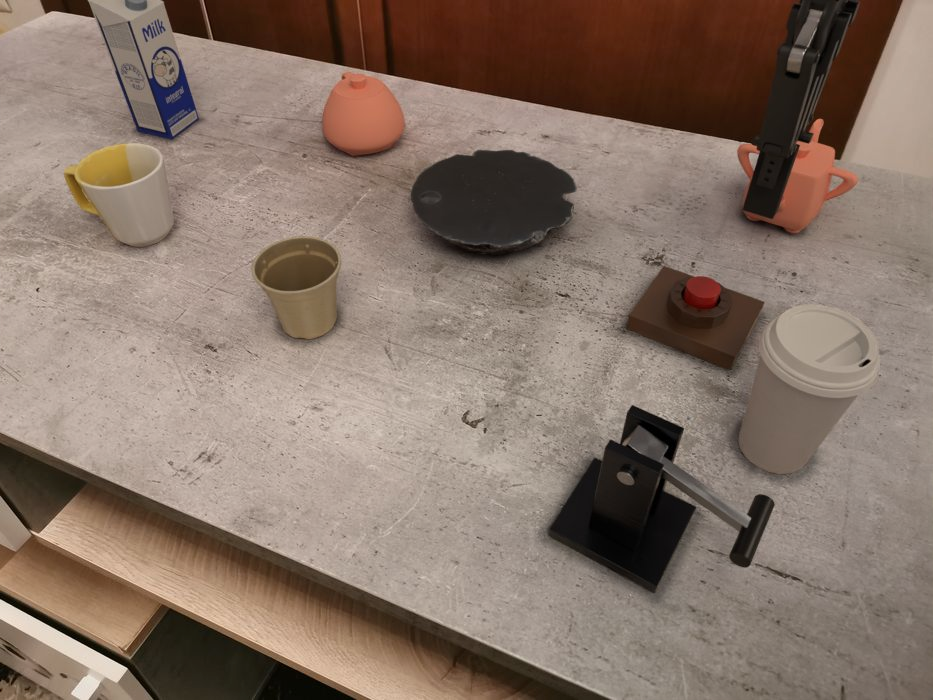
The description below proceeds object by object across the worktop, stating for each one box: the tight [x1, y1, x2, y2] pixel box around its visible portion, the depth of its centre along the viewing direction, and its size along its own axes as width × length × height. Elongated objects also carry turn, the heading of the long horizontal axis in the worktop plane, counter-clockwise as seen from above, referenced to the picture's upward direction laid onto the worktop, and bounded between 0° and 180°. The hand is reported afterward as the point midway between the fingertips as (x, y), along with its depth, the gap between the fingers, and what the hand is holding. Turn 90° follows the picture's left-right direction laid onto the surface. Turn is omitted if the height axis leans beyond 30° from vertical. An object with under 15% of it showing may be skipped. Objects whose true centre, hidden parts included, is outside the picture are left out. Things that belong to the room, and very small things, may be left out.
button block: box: [625, 265, 765, 371], centre depth 81 cm, size 12×10×4 cm
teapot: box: [736, 118, 859, 234], centre depth 93 cm, size 14×12×10 cm
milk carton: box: [87, 0, 200, 141], centre depth 108 cm, size 7×7×20 cm
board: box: [410, 149, 578, 256], centre depth 94 cm, size 22×22×5 cm
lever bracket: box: [548, 404, 697, 594], centre depth 60 cm, size 10×9×13 cm
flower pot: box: [251, 235, 342, 340], centre depth 80 cm, size 9×9×9 cm
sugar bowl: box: [321, 71, 406, 157], centre depth 107 cm, size 12×14×10 cm
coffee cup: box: [738, 303, 881, 475], centre depth 65 cm, size 10×10×15 cm
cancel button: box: [683, 275, 721, 309], centre depth 79 cm, size 4×4×2 cm
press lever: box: [622, 425, 776, 569], centre depth 56 cm, size 12×6×2 cm, turn 57°
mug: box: [63, 142, 175, 248], centre depth 92 cm, size 14×10×10 cm
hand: (759, 210), depth 65 cm, fingers closed
